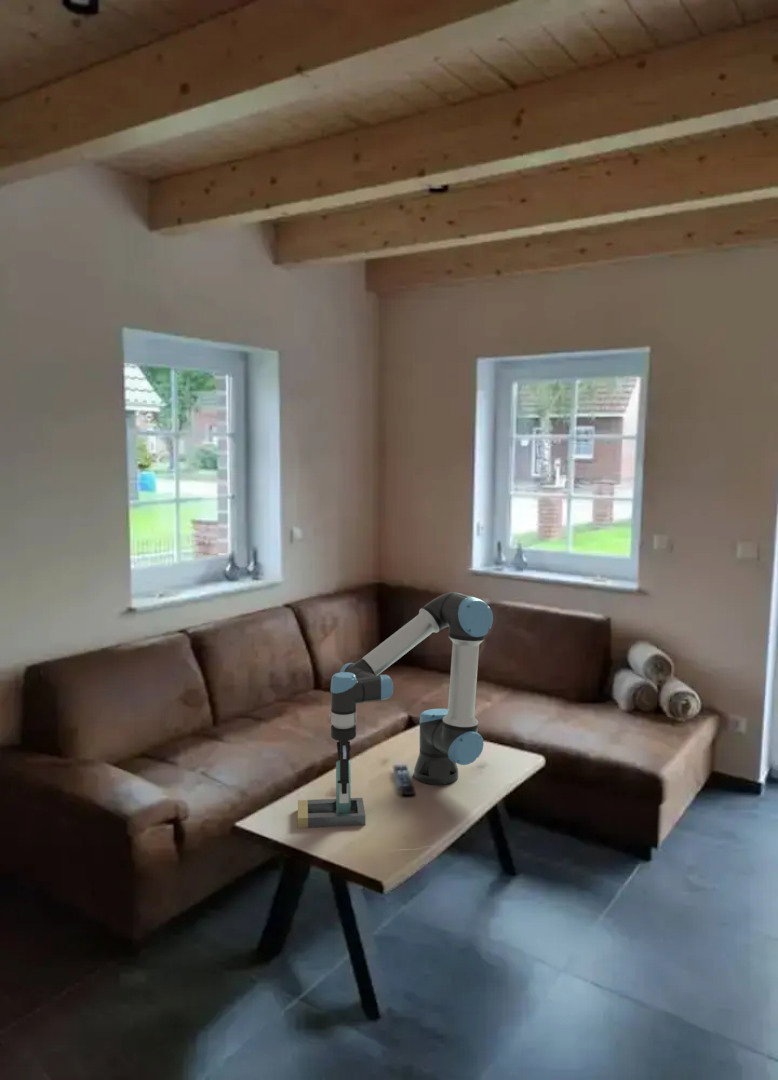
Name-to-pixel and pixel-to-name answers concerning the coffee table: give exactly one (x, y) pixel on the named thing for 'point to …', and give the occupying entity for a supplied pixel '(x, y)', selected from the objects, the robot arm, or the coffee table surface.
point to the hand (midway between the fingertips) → (343, 798)
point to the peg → (340, 807)
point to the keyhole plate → (324, 819)
